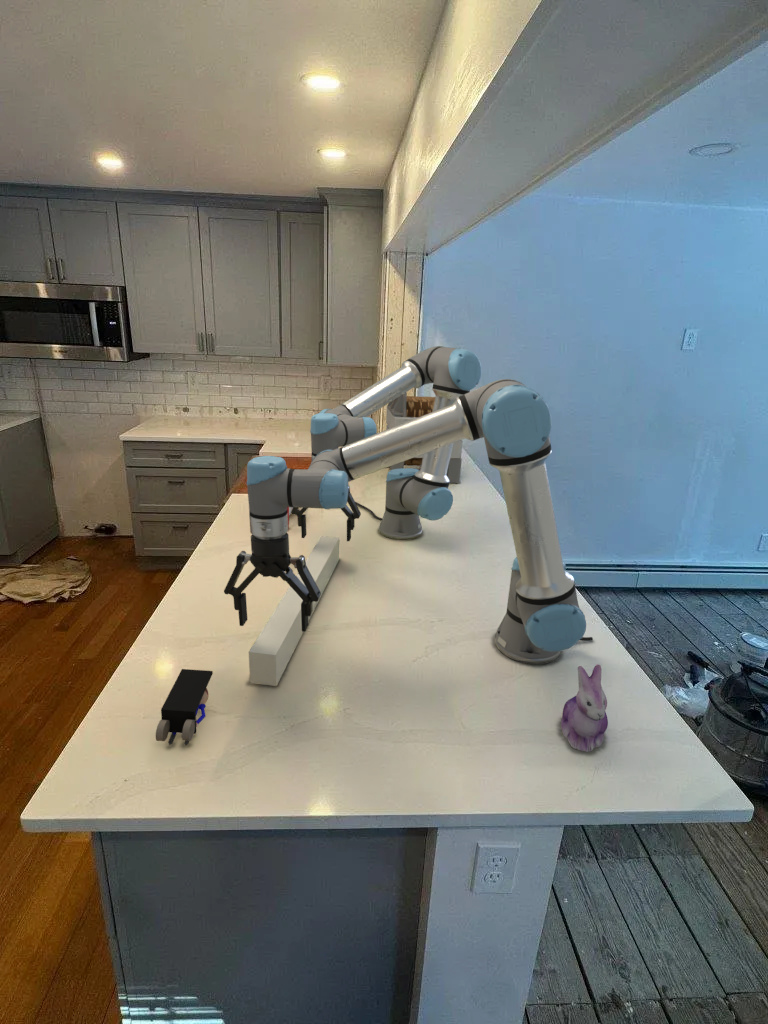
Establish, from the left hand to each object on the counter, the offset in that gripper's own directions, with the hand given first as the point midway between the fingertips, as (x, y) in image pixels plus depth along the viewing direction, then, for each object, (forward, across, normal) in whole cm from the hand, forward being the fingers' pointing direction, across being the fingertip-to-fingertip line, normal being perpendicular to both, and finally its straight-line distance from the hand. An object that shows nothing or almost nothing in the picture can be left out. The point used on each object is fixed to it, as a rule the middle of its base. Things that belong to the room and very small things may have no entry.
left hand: (326, 538), depth 168 cm
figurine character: (+8, -10, -71) cm, 73 cm away
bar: (+9, 0, -25) cm, 27 cm away
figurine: (+10, +64, -61) cm, 89 cm away
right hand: (-1, 0, -50) cm, 50 cm away
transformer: (+12, +20, +113) cm, 116 cm away
